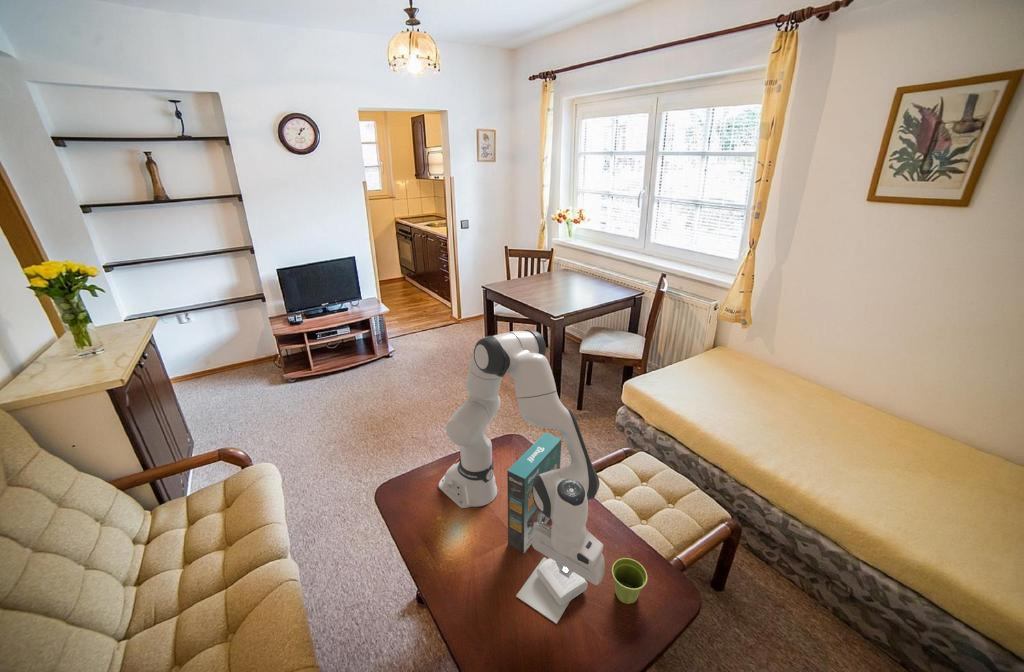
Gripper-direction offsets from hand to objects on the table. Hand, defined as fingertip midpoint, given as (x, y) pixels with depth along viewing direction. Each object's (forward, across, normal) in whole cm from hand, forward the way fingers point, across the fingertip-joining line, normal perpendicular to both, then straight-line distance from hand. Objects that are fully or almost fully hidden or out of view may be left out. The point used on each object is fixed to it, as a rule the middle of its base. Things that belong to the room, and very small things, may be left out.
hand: (565, 573), depth 113 cm
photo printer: (+7, +3, +1) cm, 8 cm away
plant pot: (+10, +14, +11) cm, 20 cm away
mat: (+10, -4, 0) cm, 11 cm away
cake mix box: (+10, -20, +16) cm, 27 cm away
